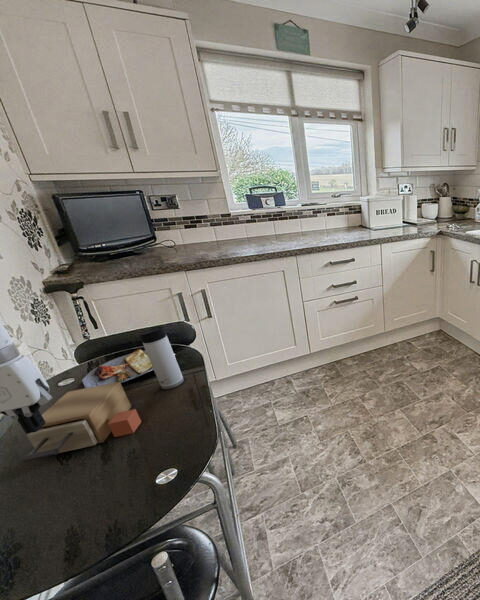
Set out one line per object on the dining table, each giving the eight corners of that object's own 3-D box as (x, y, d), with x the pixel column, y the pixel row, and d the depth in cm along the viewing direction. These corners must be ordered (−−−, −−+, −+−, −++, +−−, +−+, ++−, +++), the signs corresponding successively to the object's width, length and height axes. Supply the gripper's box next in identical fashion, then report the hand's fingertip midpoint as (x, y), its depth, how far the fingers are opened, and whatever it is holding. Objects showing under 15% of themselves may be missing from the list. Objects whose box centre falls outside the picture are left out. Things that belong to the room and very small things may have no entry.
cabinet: (103, 442, 83) (88, 414, 80) (44, 455, 80) (26, 427, 77) (131, 406, 96) (119, 381, 93) (81, 416, 94) (68, 391, 91)
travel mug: (164, 392, 102) (140, 335, 94) (159, 385, 106) (136, 330, 99) (186, 382, 106) (165, 327, 99) (180, 375, 110) (160, 322, 103)
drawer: (77, 466, 75) (63, 443, 72) (17, 480, 73) (1, 456, 70) (123, 410, 93) (113, 390, 91) (76, 420, 91) (65, 399, 88)
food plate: (80, 376, 116) (76, 367, 114) (156, 348, 132) (153, 340, 130) (92, 402, 100) (87, 393, 99) (177, 367, 116) (173, 358, 115)
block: (133, 433, 85) (127, 419, 84) (114, 437, 85) (107, 423, 83) (141, 421, 89) (135, 408, 88) (123, 425, 89) (116, 412, 87)
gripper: (-76, 376, 61) (-20, 450, 68) (20, 358, 64) (64, 431, 71) (-37, 356, 68) (10, 425, 74) (48, 341, 71) (86, 409, 78)
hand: (36, 428), depth 73 cm, fingers closed
